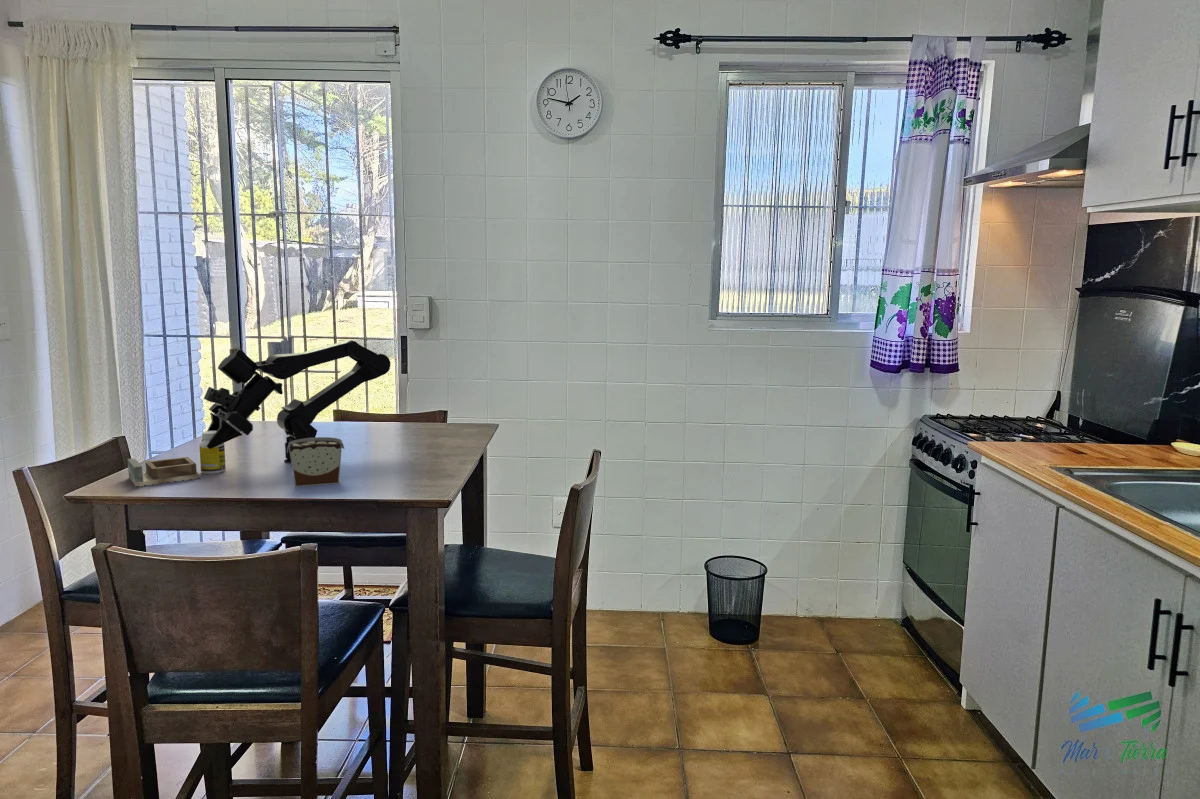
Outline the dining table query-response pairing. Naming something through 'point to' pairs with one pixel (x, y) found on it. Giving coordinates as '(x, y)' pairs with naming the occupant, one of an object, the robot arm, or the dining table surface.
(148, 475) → the wooden display tray
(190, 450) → the dining table surface
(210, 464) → the supplement bottle
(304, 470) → the food container
